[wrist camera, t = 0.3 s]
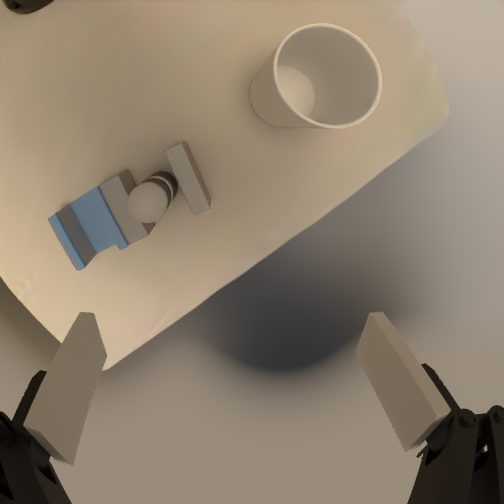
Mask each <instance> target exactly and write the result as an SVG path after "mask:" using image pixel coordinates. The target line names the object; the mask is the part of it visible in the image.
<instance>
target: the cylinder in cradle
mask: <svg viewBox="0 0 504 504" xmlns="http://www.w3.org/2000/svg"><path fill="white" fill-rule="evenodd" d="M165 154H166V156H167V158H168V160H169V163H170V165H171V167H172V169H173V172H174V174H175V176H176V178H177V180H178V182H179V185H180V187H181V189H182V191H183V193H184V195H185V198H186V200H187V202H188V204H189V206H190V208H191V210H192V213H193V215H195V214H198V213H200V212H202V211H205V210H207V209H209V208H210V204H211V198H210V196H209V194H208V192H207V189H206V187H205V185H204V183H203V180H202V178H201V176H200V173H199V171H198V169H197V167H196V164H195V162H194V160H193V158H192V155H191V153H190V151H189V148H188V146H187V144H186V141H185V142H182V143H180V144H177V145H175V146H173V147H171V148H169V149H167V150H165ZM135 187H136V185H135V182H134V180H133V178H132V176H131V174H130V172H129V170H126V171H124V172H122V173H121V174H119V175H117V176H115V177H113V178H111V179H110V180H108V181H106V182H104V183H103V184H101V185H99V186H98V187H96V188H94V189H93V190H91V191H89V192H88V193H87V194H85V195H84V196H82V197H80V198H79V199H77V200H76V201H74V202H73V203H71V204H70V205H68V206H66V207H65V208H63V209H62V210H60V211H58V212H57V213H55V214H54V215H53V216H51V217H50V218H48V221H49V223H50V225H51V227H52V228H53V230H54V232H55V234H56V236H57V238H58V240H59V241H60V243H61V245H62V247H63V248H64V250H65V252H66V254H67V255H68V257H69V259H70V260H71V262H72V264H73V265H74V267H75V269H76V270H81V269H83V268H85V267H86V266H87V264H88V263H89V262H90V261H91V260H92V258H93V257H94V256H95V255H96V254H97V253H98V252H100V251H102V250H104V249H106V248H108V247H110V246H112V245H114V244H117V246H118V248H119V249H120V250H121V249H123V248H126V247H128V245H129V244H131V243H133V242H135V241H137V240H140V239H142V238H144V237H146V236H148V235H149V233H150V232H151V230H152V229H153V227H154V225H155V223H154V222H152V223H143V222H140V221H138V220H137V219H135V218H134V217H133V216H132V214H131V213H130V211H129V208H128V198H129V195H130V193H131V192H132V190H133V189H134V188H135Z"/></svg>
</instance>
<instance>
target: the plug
mask: <svg viewBox="0 0 504 504" xmlns="http://www.w3.org/2000/svg"><path fill="white" fill-rule="evenodd" d="M177 189H178V186H177V181H176V179H175V178H174V177H173V175H171V174H170V173H168V172H163V171H161V172H157V173H154V174H153V175H152V176H150V177H149V178H147V179H146V180H145V181H143V182H142V183H141V184H139V185H138V186H137V187H135V188H134V189H133V190H132V192H131V193H130V195H129V198H128V208H129V211H130V213H131V214H132V216H133V217H134V218H135V219H137V220H138V221H140V222H143V223H152V222H155V221H157V220H158V219H160V218H161V217H162V215H163V214H164V212H165V211H166V209H167V208H168V206H169V204H170V203H171V201H172V200H173V198H174V197H175V195H176V193H177Z"/></svg>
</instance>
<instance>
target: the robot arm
mask: <svg viewBox="0 0 504 504" xmlns="http://www.w3.org/2000/svg"><path fill="white" fill-rule="evenodd" d="M2 1H3V3H4V4H5V6H6V7H7V8H8V9H9V10H11V11H13V12H16V13H18V14H27V13H31V12H34V11H36V10H38V9H40V8H42V7H44V6H46V5H47V4H49V3H50V2H52V1H53V0H2ZM355 354H356V356H357V358H358V359H359V361H360V363H361V365H362V367H363V369H364V371H365V373H366V375H367V377H368V378H369V380H370V382H371V384H372V386H373V388H374V390H375V392H376V394H377V396H378V398H379V400H380V402H381V404H382V406H383V408H384V410H385V412H386V414H387V415H388V418H389V420H390V422H391V424H392V426H393V428H394V430H395V432H396V434H397V436H398V438H399V440H400V442H401V445H402V447H403V449H404V451H405V452H407V451H410V450H412V449H414V448H417V447H419V446H420V445H421V444H422V443H423V442H424V441H425V440H426V441H427V443H428V444H427V445H426V446H425V447H424V448H423V449H422V450H421V452H419V453H418V455H417V457H420V456H421V455H422V454H423V457H422V461H421V464H420V468H419V471H418V474H417V477H416V481H415V484H414V487H413V489H412V493H411V495H410V498H409V500H408V503H407V504H504V408H503V407H501V406H498V405H495V406H493V407H491V409H490V410H489V411H488V412H487V413H484V414H474V413H473V412H472V411H470V410H468V409H460V407H459V406H458V405H457V403H456V402H455V400H454V399H453V397H452V396H451V394H450V393H449V391H448V390H447V388H446V387H445V386H444V385H443V382H442V381H441V380H440V379H439V377H438V375H437V374H436V373H435V371H434V370H433V369H432V368H431V367H429V366H428V365H427V364H420V363H419V362H418V360H417V359H416V357H415V356H414V354H413V353H412V351H411V350H410V349H409V347H408V346H407V344H406V343H405V342H404V340H403V339H402V338H401V336H400V335H399V334H398V332H397V331H396V330H395V328H394V327H393V326H392V324H391V323H390V322H389V320H388V319H387V318H386V316H385V315H384V314H383V312H374V313H369V316H368V319H367V322H366V325H365V328H364V331H363V334H362V336H361V339H360V342H359V345H358V347H357V350H356V353H355ZM106 358H107V354H106V351H105V348H104V345H103V342H102V338H101V335H100V332H99V329H98V325H97V322H96V318H95V315H94V313H87V312H80V313H79V315H78V317H77V318H76V320H75V322H74V323H73V325H72V327H71V329H70V330H69V332H68V334H67V336H66V337H65V339H64V341H63V343H62V345H61V347H60V348H59V350H58V352H57V354H56V356H55V358H54V360H53V361H52V363H51V365H50V367H49V369H48V371H47V372H46V371H42V370H40V371H39V372H38V373H37V374H36V375H35V376H34V377H32V379H31V381H30V383H29V385H28V389H26V391H25V393H24V396H23V397H22V400H21V402H20V404H19V406H18V408H17V410H16V413H15V415H14V417H13V419H12V421H11V420H10V419H9V418H8V416H7V415H6V414H5V413H3V412H1V411H0V504H72V503H71V501H70V500H69V498H68V496H67V494H66V492H65V490H64V489H63V487H62V485H61V483H60V481H59V479H58V477H57V475H56V473H55V471H54V469H53V466H52V465H51V463H50V462H49V459H50V456H52V457H53V458H54V459H55V460H56V461H57V462H60V463H63V464H66V465H70V466H73V464H74V460H75V456H76V452H77V448H78V444H79V441H80V437H81V434H82V430H83V427H84V423H85V420H86V417H87V413H88V410H89V407H90V403H91V400H92V398H93V394H94V391H95V388H96V386H97V383H98V380H99V377H100V374H101V371H102V369H103V366H104V363H105V360H106ZM486 445H487V449H488V450H487V451H486V452H485V451H484V447H485V446H486Z"/></svg>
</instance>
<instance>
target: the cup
mask: <svg viewBox="0 0 504 504" xmlns="http://www.w3.org/2000/svg"><path fill="white" fill-rule="evenodd" d="M381 92H382V75H381V70H380V67H379V64H378V62H377V60H376V57H375V56H374V54H373V52H372V51H371V50H370V48H369V47H368V46H367V45H366V44H365V43H364V42H363V41H362V40H361V39H360V38H359V37H358V36H356V35H355V34H354V33H352V32H350V31H348V30H346V29H344V28H342V27H339V26H336V25H332V24H325V23H315V24H308V25H305V26H302V27H299V28H297V29H296V30H294V31H292V32H291V33H290V34H288V35H287V36H286V37H285V38H284V39H283V40H282V41H281V43H280V44H279V45H278V46H277V48H276V49H275V50H274V52H273V53H272V54H271V56H270V57H269V59H268V60H267V61H266V63H265V64H264V66H263V67H262V68H261V70H260V71H259V73H258V74H257V75H256V77H255V78H254V80H253V82H252V84H251V87H250V102H251V105H252V107H253V109H254V111H255V113H256V114H257V115H258V116H259V117H260V118H261V119H262V120H263V121H265V122H266V123H268V124H270V125H273V126H276V127H282V128H324V129H341V128H347V127H351V126H354V125H356V124H358V123H360V122H362V121H363V120H365V119H366V118H367V117H368V116H370V114H371V113H372V112H373V111H374V109H375V108H376V106H377V104H378V102H379V100H380V96H381Z"/></svg>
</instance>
